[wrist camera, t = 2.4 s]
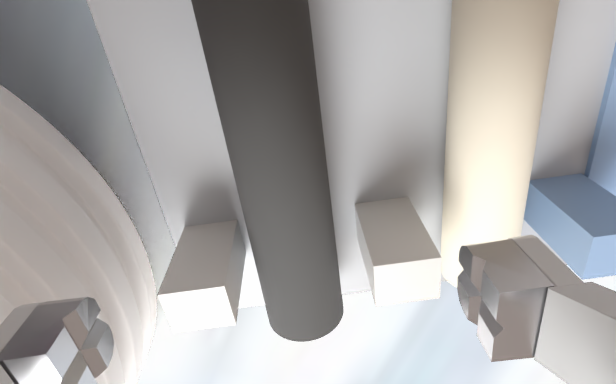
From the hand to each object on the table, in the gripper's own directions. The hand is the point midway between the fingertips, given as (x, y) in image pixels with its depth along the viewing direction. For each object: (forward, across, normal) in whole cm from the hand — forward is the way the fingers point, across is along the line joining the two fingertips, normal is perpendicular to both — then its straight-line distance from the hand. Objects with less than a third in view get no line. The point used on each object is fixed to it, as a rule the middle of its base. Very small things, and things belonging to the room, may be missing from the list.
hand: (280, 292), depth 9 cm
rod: (+9, -8, 0) cm, 12 cm away
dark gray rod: (+9, 0, 0) cm, 9 cm away
